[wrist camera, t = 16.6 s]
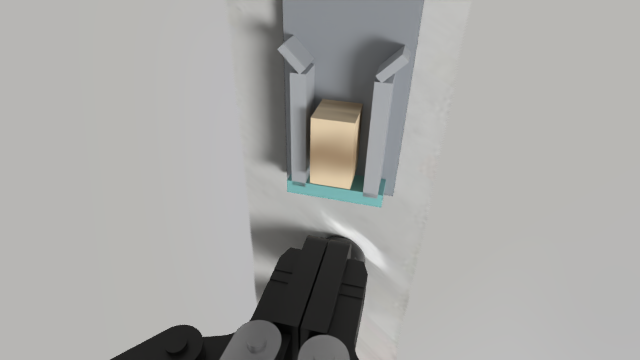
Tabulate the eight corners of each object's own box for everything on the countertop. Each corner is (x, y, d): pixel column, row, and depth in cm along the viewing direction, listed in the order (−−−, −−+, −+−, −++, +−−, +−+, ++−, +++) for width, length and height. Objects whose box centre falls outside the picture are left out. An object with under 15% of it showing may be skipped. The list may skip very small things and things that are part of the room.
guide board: (286, -30, 34) (269, -24, 31) (427, -22, 32) (426, -15, 28) (290, 173, 46) (278, 194, 42) (393, 190, 44) (390, 212, 40)
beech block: (322, 99, 38) (310, 117, 35) (363, 103, 38) (355, 123, 34) (320, 160, 42) (309, 182, 39) (357, 165, 42) (349, 189, 38)
